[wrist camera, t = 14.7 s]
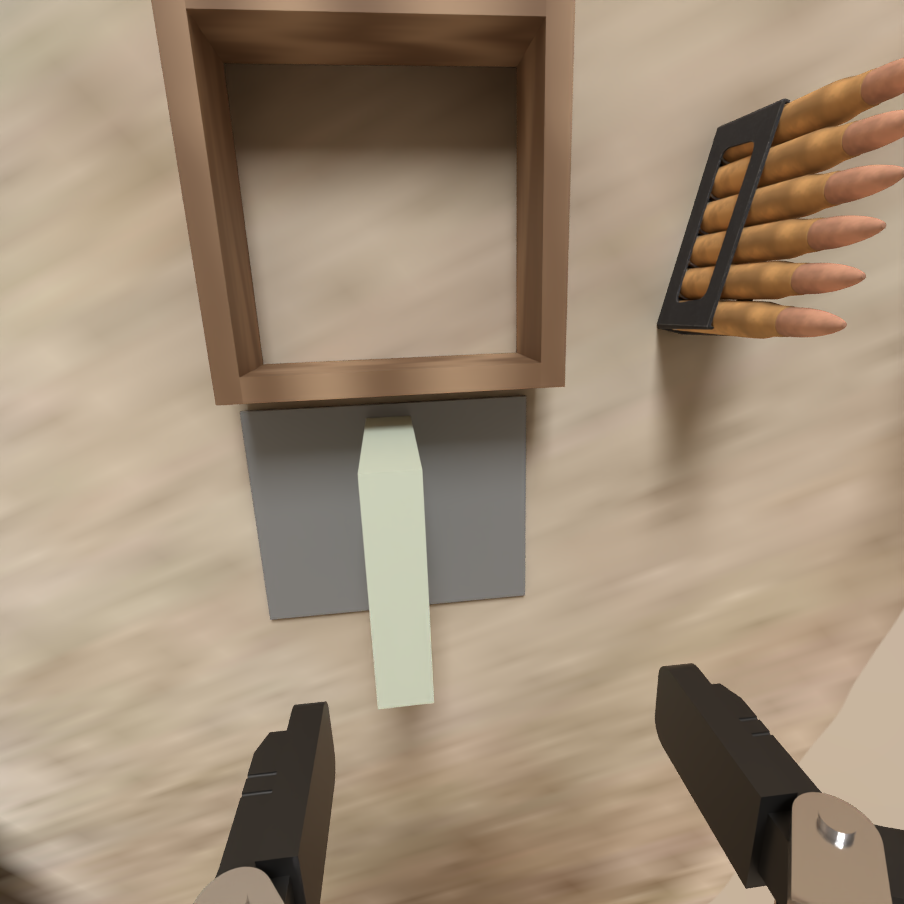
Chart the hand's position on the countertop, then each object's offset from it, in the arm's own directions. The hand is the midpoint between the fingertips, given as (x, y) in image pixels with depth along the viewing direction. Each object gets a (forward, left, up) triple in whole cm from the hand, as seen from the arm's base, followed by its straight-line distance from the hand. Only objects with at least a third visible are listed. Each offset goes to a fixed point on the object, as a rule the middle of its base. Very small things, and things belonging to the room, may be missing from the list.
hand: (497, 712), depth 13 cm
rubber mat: (+2, +3, -20) cm, 20 cm away
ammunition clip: (-16, -12, -20) cm, 28 cm away
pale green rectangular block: (+2, +2, -20) cm, 20 cm away
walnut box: (+2, -13, -20) cm, 24 cm away
